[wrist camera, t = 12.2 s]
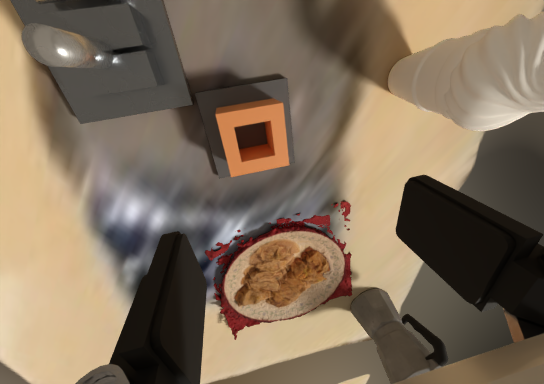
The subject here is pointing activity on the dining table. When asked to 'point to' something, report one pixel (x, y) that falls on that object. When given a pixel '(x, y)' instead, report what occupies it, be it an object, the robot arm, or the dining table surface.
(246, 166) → the orange square tube
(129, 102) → the grey peg stand
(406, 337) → the coffeepot
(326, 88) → the dining table surface
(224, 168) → the mat
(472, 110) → the soft serve ice cream cone
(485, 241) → the robot arm
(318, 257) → the plate with food
